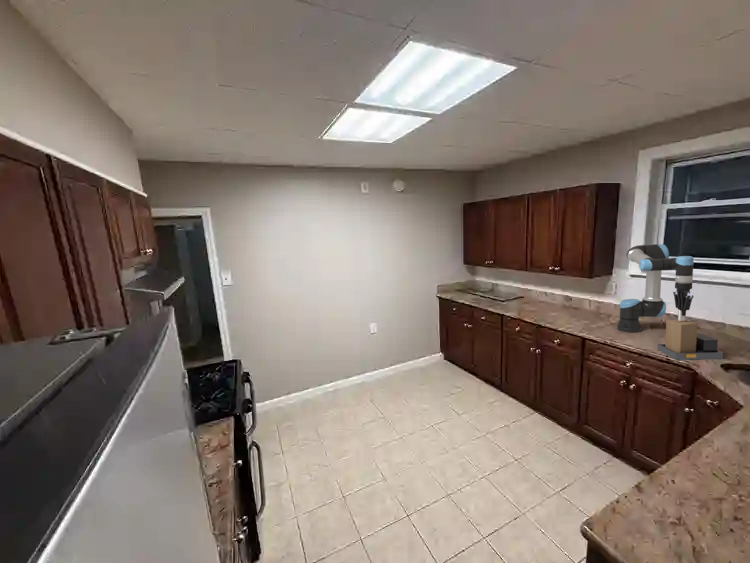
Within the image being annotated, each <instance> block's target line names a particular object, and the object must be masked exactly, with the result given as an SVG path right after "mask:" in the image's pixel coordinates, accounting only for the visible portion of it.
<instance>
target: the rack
mask: <svg viewBox="0 0 750 563" xmlns="http://www.w3.org/2000/svg"><path fill="white" fill-rule="evenodd" d="M718 342H719V340H718V339H717V338H715V337H714V338H713V337H712V336H708V335H706V334H704V333H697V339H696V352H689V353H676V352H674V351H672V350H670V349H668V348H666V347H665V343H657V351H658V350H659V352H660V351H661V352H660V353H662V354H664V355H666V356H668V357H670V358H672V359H674V360H676V361H680V360H682V361H685V360H689V361H691V360H692V361H693V360H723V359H724V351H720V350H718V345H719V343H718Z"/></svg>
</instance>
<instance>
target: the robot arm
mask: <svg viewBox="0 0 750 563" xmlns="http://www.w3.org/2000/svg"><path fill="white" fill-rule="evenodd" d="M625 256H626V258H627V259H628V261H630V262H633V263H636V264H638V267H639V270H640V271H642V272H645V287H644V288H645V289H644V290H645V292H644V296H643V298H642V299H641V300H640V299H638V298H626V299H623V300H621V301H620V303H619V319H618V322H617V323H616V329H617V330H618V331H621V332H627V333H639V332H641V331H642V326H641V323H640V320H639V318H640V317H644V318H645V317H646V318H660V317H663V316H664V315H665V313H666V312H667V311H666V310H667V304H666V301H664V299H663V298H662V297H661V290H662V289H661V287H662V271H663V272H664V271H675V283H674V288H675V289H676V291H673V292H672V293H673V296H674V305H675V308H676V309H677V310H678V318H677V319H678V320H679V321H685V320H686V315H687V311H690V308H691V304H692V301H693V298H694V296H695V295H692V294H691V290H692V289H693V281H694V280H693V277H694V276H693V275H694V265H695V264H694V263H695V262H694V257H693V256H690V255H681V256H680V255H679V256H677V257H670V252H669V248H668V247H667V245H665V244H662V243H661V244H659V243H656V244H655V243H654V244H640V245H638V244H637V245H634V246H633V247H631V248H629V249H628V250H627V252H626V255H625Z"/></svg>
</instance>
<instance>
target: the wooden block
mask: <svg viewBox="0 0 750 563" xmlns="http://www.w3.org/2000/svg"><path fill="white" fill-rule="evenodd" d="M697 334H698V322H695V321H691V320H687V319H685V321H679V320H678V318H677V319H676V318H675V319H667V320H666V323H665V343H664V344H665V347H666V348H668V349H670V350H672V351H674V352H676V353H689V352H696V339H697Z"/></svg>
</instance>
